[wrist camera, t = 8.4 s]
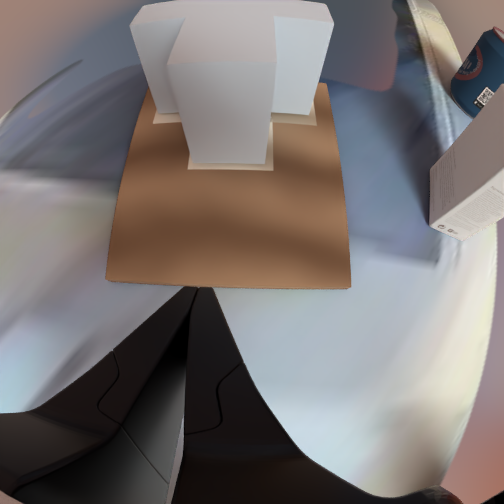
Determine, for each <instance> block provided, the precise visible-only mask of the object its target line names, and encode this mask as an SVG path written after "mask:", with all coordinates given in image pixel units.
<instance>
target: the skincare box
mask: <svg viewBox="0 0 504 504" xmlns="http://www.w3.org/2000/svg"><path fill="white" fill-rule="evenodd" d="M503 217H504V84H501V85H500V87H499V88H498V89H497V91H496V92H495V93H494V95H493V96H492V97H491V98H490V100H489V101H488V102H487V103H486V105H485V106H484V107H483V108H482V110H481V111H480V112H479V113H478V115H477V116H476V117H475V118H474V120H473V121H472V122H471V123H470V124H469V126H468V127H467V128H466V129H465V130H464V131H463V133H462V134H461V135H460V136H459V137H458V138H457V139H456V141H455V142H454V143H453V144H452V145H451V146H450V148H449V149H448V150H447V151H446V152H445V153H444V154H443V155H442V157H441V158H440V159H439V160H438V161H437V162H436V163H435V164H434V165H433V166H432V167H431V169H430V215H429V226H430V227H432V228H434V229H436V230H438V231H440V232H442V233H445V234H447V235H449V236H451V237H453V238H456V239H458V240H460V241H464V240H466V239H467V238H469V237H471V236H473V235H474V234H476V233H478V232H480V231H481V230H483V229H485V228H487V227H488V226H490V225H492V224H493V223H495V222H497V221H498V220H500V219H502V218H503Z"/></svg>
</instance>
